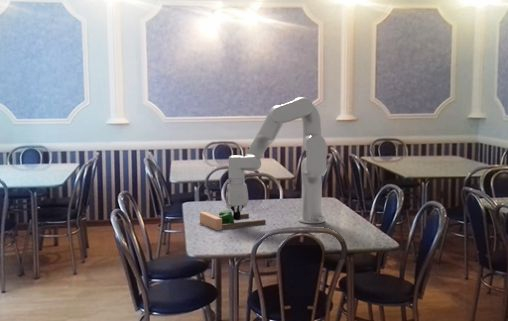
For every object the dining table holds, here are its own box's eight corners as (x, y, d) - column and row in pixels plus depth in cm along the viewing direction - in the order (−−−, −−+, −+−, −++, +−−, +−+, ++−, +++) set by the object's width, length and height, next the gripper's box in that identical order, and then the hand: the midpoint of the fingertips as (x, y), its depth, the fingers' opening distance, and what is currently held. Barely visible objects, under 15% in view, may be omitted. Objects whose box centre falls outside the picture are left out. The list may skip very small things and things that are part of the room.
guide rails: (265, 224, 288) (265, 219, 288) (222, 229, 277) (222, 225, 277) (247, 217, 304) (247, 213, 303) (206, 221, 293) (206, 217, 292)
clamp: (223, 231, 292) (218, 213, 295) (235, 227, 293) (230, 209, 295) (221, 226, 281) (217, 208, 283) (234, 223, 281) (229, 204, 284)
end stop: (222, 229, 277) (222, 218, 276) (216, 230, 275) (216, 219, 275) (205, 222, 293) (205, 211, 292) (199, 222, 291) (199, 212, 291)
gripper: (225, 183, 282) (226, 222, 284) (254, 181, 289) (254, 219, 291) (218, 181, 288) (219, 219, 290) (246, 179, 295) (246, 216, 297)
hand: (236, 219), depth 290 cm, fingers closed
